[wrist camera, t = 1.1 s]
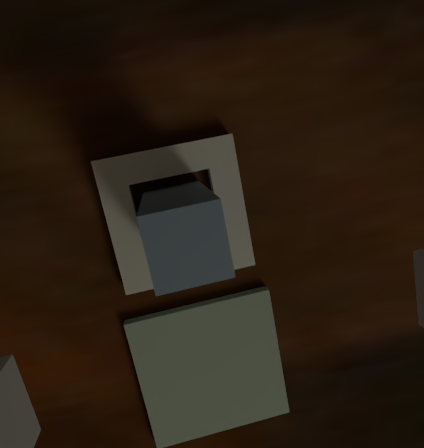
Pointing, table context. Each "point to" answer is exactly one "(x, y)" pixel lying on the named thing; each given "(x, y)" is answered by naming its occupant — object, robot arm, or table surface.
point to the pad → (208, 366)
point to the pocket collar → (161, 168)
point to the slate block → (184, 237)
